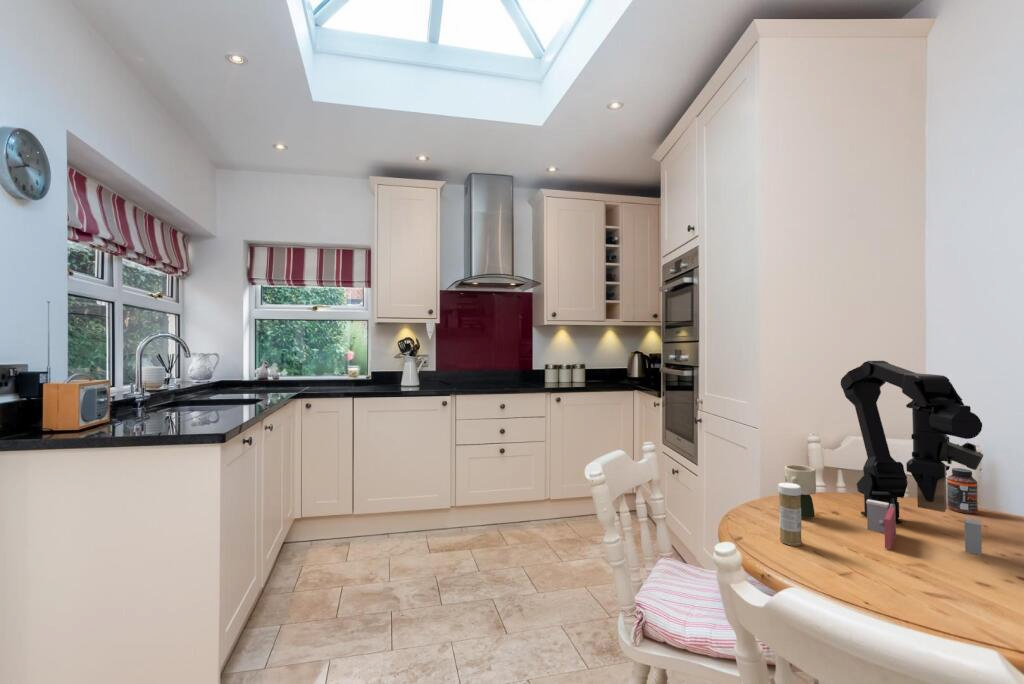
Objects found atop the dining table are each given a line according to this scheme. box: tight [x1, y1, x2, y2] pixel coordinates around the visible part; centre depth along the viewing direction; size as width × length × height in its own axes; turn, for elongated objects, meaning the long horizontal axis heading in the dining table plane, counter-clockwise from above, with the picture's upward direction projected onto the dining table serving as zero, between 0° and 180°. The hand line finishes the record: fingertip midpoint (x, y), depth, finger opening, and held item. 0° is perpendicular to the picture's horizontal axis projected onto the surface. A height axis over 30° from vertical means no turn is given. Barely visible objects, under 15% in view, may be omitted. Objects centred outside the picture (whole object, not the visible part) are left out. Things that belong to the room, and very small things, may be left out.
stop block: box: [916, 475, 948, 513], centre depth 105 cm, size 4×4×7 cm
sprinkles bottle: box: [777, 482, 803, 547], centre depth 107 cm, size 5×5×14 cm
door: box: [879, 507, 897, 550], centre depth 107 cm, size 11×2×6 cm, turn 136°
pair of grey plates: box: [866, 499, 983, 556], centre depth 108 cm, size 20×2×7 cm, turn 43°
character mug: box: [784, 464, 817, 519], centre depth 124 cm, size 11×7×13 cm, turn 129°
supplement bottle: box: [946, 467, 979, 515], centre depth 127 cm, size 6×6×11 cm
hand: (930, 499), depth 105 cm, fingers closed on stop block, 4 cm apart
